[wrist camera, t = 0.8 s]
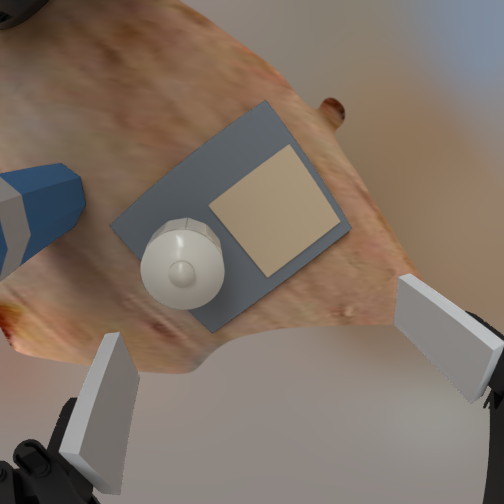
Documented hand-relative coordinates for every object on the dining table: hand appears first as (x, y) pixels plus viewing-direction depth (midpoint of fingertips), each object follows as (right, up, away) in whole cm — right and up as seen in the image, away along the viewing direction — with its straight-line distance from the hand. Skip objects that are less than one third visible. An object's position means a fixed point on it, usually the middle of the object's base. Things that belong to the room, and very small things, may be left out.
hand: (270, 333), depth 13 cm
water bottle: (-26, +11, +20) cm, 34 cm away
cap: (-8, +3, +19) cm, 21 cm away
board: (-3, +7, +24) cm, 26 cm away
